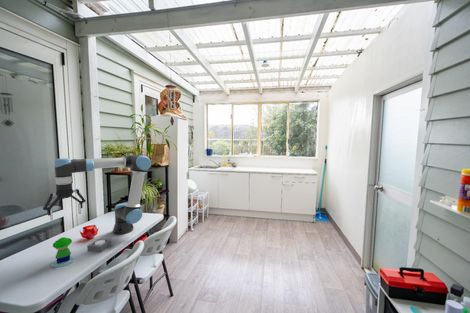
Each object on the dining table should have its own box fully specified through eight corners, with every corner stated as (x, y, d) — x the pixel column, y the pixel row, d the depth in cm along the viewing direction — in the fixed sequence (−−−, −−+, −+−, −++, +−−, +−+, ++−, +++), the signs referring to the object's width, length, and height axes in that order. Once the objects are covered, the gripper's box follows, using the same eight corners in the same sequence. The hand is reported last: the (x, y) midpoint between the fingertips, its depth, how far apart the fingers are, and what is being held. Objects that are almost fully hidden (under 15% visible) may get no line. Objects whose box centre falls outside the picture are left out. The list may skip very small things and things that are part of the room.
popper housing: (99, 243, 142) (99, 238, 142) (111, 244, 141) (111, 239, 140) (87, 251, 132) (87, 245, 132) (100, 252, 131) (100, 246, 130)
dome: (99, 243, 139) (99, 239, 139) (107, 244, 139) (107, 240, 139) (92, 248, 134) (92, 244, 133) (100, 248, 133) (100, 244, 133)
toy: (71, 255, 126) (71, 233, 125) (73, 261, 120) (72, 237, 119) (53, 261, 120) (52, 237, 119) (53, 267, 114) (52, 242, 113)
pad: (72, 254, 127) (72, 254, 127) (76, 261, 121) (76, 260, 121) (49, 262, 119) (49, 262, 119) (52, 270, 112) (52, 269, 112)
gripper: (86, 179, 132) (88, 209, 134) (34, 186, 112) (37, 221, 114) (90, 180, 128) (92, 212, 129) (36, 188, 108) (39, 225, 110)
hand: (66, 216), depth 122 cm, fingers open, 13 cm apart
